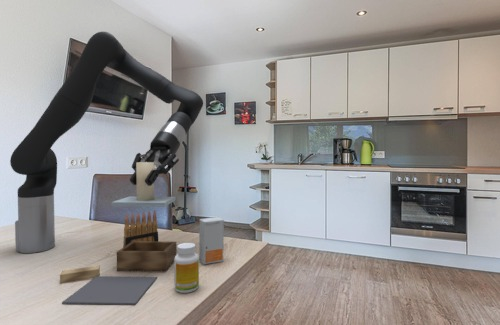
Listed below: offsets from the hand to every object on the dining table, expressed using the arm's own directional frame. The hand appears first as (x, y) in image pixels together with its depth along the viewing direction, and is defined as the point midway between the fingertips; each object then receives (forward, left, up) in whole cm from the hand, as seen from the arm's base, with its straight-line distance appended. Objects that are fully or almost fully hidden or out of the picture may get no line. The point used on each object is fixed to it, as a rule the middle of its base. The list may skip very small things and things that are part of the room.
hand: (140, 183), depth 73 cm
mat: (-1, -12, -23) cm, 26 cm away
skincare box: (+18, +6, -23) cm, 30 cm away
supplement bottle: (+15, -10, -23) cm, 29 cm away
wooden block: (-12, -6, -23) cm, 27 cm away
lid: (+1, +2, -6) cm, 6 cm away
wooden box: (+1, +3, -23) cm, 23 cm away
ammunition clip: (-6, +15, -23) cm, 28 cm away
